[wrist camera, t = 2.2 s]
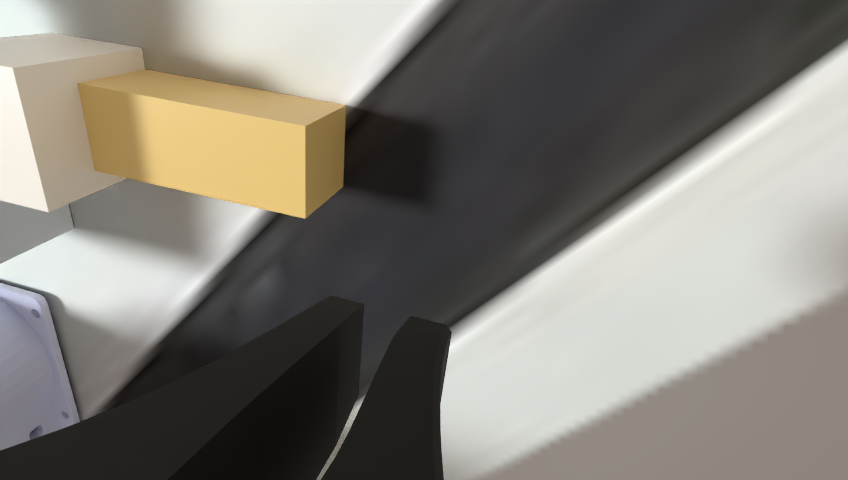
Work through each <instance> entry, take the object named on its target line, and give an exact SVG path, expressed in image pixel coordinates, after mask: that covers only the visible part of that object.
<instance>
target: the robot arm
mask: <svg viewBox="0 0 848 480" xmlns="http://www.w3.org/2000/svg"><path fill="white" fill-rule="evenodd" d="M363 314H364V304H362V303H358V302H354V301H350V300H346V299H342V298H338V297H334V296H330V297H328V298H326V299H324V300H322V301H320V302H319V303H317V304H315V305H313V306H312V307H310V308H308V309H306V310H305V311H303V312H301V313H299V314H298V315H296V316H294V317H293V318H291V319H289V320H287V321H286V322H284V323H282V324H280V325H279V326H277V327H275V328H273V329H272V330H270V331H268V332H266V333H264V334H263V335H261V336H259V337H257V338H256V339H254V340H252V341H250V342H248V343H247V344H245V345H243V346H241V347H239V348H238V349H236V350H234V351H232V352H230V353H228V354H227V355H225V356H223V357H221V358H219V359H217V360H215V361H213V362H211V363H209V364H207V365H205V366H203V367H201V368H199V369H197V370H195V371H193V372H191V373H189V374H187V375H185V376H183V377H181V378H179V379H177V380H175V381H173V382H171V383H169V384H167V385H165V386H163V387H160V388H158V389H156V390H154V391H152V392H150V393H147V394H145V395H143V396H141V397H138V398H136V399H134V400H132V401H129V402H127V403H125V404H122V405H120V406H117V407H115V408H113V409H110V410H108V411H105V412H103V413H100V414H98V415H96V416H93V417H91V418H88V419H86V420H83V421H81V422H80V419H79V416H78V412H77V408H76V405H75V401H74V397H73V394H72V390H71V386H70V383H69V379H68V375H67V372H66V368H65V365H64V361H63V357H62V354H61V350H60V346H59V343H58V339H57V335H56V332H55V328H54V324H53V321H52V317H51V313H50V310H49V306H48V303H47V301H46V299H45V298H44V297H43V296H42V295H40V294H37V293H34V292H31V291H27V290H24V289H20V288H17V287H13V286H10V285H6V284H3V283H0V480H316V479H317V477H318V475H319V474H320V472H321V470H322V469H323V467H324V465H325V463H326V462H327V460H328V458H329V457H330V455H331V453H332V451H333V450H334V448H335V446H336V444H337V442H338V440H339V437H340V435H341V433H342V431H343V429H344V426H345V424H346V422H347V420H348V417H349V415H350V413H351V410H352V408H353V406H354V403H355V401H356V399H357V397H358V394H359V378H360V362H361V346H362V330H363ZM451 333H452V332H451V331H450V330H449V328H448V327H447V325H445V324H441V323H437V322H433V321H429V320H425V319H421V318H417V317H413V316H410V317H409V319H408V320H407V321H406V322H405V323H404V324H403V325H402V326H401V328H400V329H399V330H398V332H397V333H396V334H395V336H394V337H393V338H392V340H391V342H390V344H389V346H388V349H387V351H386V353H385V355H384V357H383V359H382V361H381V363H380V366H379V368H378V370H377V372H376V374H375V376H374V379H373V381H372V383H371V385H370V387H369V390H368V392H367V394H366V396H365V398H364V400H363V403H362V405H361V407H360V409H359V411H358V413H357V416H356V418H355V420H354V422H353V424H352V427H351V429H350V431H349V433H348V435H347V437H346V438H345V440H344V442H343V444H342V446H341V448H340V450H339V452H338V453H337V455H336V457H335V459H334V460H333V462H332V463H331V465H330V466H329V468H328V469H327V471H326V473H325V474H324V476H323V477H322V479H321V480H444V479H443V466H442V453H441V434H440V402H441V396H442V389H443V383H444V377H445V371H446V364H447V358H448V352H449V346H450V339H451Z"/></svg>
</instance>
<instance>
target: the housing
mask: <svg viewBox="0 0 848 480" xmlns="http://www.w3.org/2000/svg"><path fill="white" fill-rule="evenodd" d="M73 228H74V226H73V221H72V217H71V213H70V208H69V204H67V205H65V206H62V207H60V208H58V209H56V210H53V211H51V212H45V211H41V210H37V209H33V208H29V207H25V206H21V205H17V204H13V203H9V202H5V201H1V200H0V264H1V263H3V262H5V261H7V260H9V259H11V258H13V257H15V256H17V255H19V254H21V253H23V252H26V251H28V250H30V249H32V248H34V247H36V246H38V245H40V244H42V243H44V242H46V241H48V240H51V239H53V238H55V237H57V236H59V235H61V234H63V233H65V232H67V231H69V230H71V229H73Z"/></svg>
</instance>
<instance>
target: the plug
mask: <svg viewBox="0 0 848 480" xmlns="http://www.w3.org/2000/svg"><path fill="white" fill-rule="evenodd" d="M345 121H346V105H342V104H337V103H331V102H325V101H320V100H314V99H309V98H303V97H297V96H292V95H286V94H281V93H275V92H269V91H264V90H258V89H252V88H247V87H241V86H236V85H230V84H224V83H219V82H213V81H207V80H202V79H196V78H191V77H185V76H179V75H174V74H168V73H163V72H157V71H151V70H146V69H145V66H144V59H143V51H142V48H138V47H133V46H127V45H121V44H115V43H109V42H103V41H97V40H91V39H85V38H79V37H73V36H68V35H62V34H56V33H44V34H34V35H24V36H14V37H4V38H0V200H1V201H5V202H9V203H13V204H17V205H21V206H25V207H29V208H33V209H37V210H41V211H45V212H51V211H53V210H56V209H58V208H60V207H62V206H65V205H67V204H69V203H72V202H74V201H76V200H79V199H81V198H83V197H86V196H88V195H90V194H93V193H95V192H97V191H100V190H102V189H104V188H107V187H109V186H111V185H114V184H116V183H118V182H120V181H123V180H125V179H127V178H128V179H132V180H137V181H141V182H146V183H150V184H154V185H159V186H163V187H168V188H172V189H177V190H181V191H185V192H190V193H194V194H199V195H203V196H208V197H212V198H216V199H221V200H225V201H230V202H234V203H239V204H243V205H247V206H252V207H256V208H261V209H265V210H269V211H274V212H278V213H283V214H287V215H292V216H296V217H300V218H305V219H306V218H307V217H308V216H309V215H310V214H311V213H313V212H314V211H315V210H316V209H317V208H319V207H320V206H321V205H322V204H323V203H325V202H326V201H327V200H328V199H329V198H330V197H332V196H333V195H334V194H335V193H336V192H338V191H339V190H340V189H341V188H342V187H343V177H344V149H345Z"/></svg>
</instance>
